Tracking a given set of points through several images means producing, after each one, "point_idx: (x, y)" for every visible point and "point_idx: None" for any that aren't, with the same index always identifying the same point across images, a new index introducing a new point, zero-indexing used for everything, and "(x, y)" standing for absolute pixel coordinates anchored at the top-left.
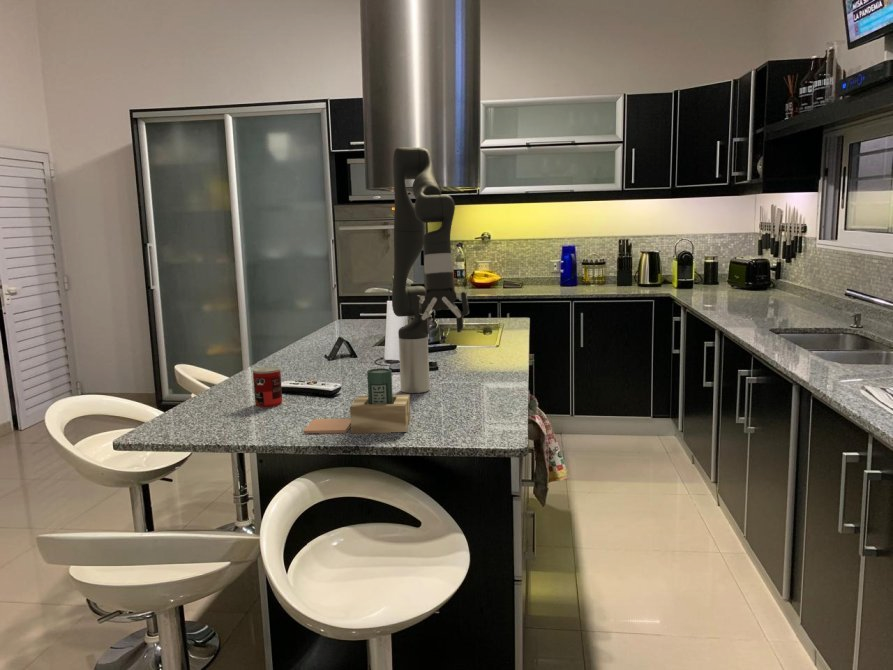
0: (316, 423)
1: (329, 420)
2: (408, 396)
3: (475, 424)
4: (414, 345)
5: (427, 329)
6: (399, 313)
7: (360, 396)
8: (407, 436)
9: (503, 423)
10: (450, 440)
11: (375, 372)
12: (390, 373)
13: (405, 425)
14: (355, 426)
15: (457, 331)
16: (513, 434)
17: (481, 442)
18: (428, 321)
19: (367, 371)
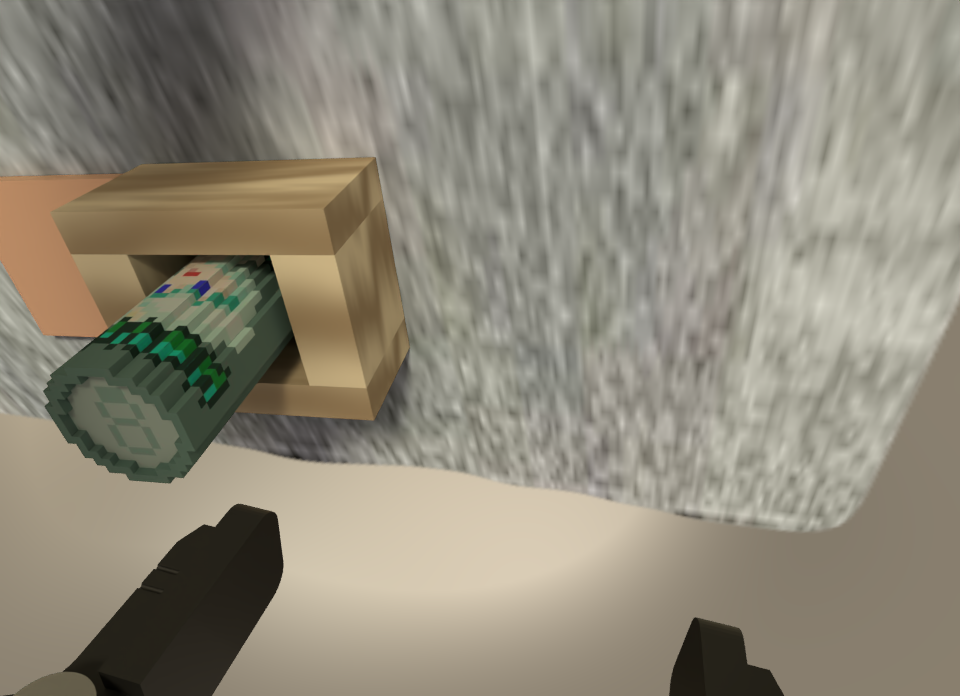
0: (18, 249)
1: (34, 206)
2: (331, 251)
3: (718, 252)
4: None
5: (248, 628)
6: None
7: (73, 231)
8: (427, 387)
9: (879, 243)
10: (595, 441)
11: (107, 424)
12: (202, 440)
13: (400, 364)
14: None
15: (673, 690)
16: (872, 404)
17: (712, 471)
18: (166, 682)
19: (64, 436)
